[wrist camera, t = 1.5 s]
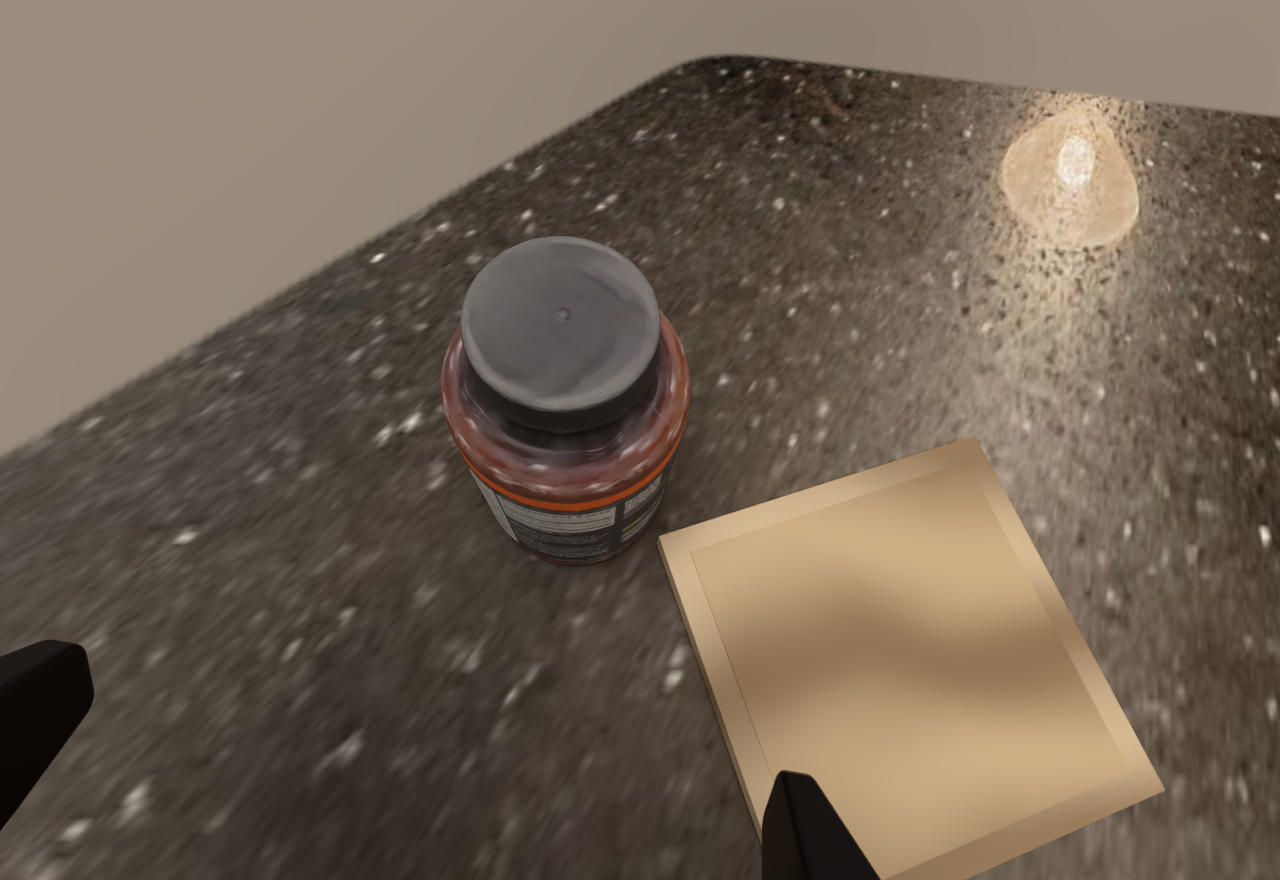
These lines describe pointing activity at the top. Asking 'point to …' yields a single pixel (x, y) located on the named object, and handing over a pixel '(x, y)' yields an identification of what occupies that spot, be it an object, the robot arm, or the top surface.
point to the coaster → (906, 666)
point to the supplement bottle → (566, 397)
